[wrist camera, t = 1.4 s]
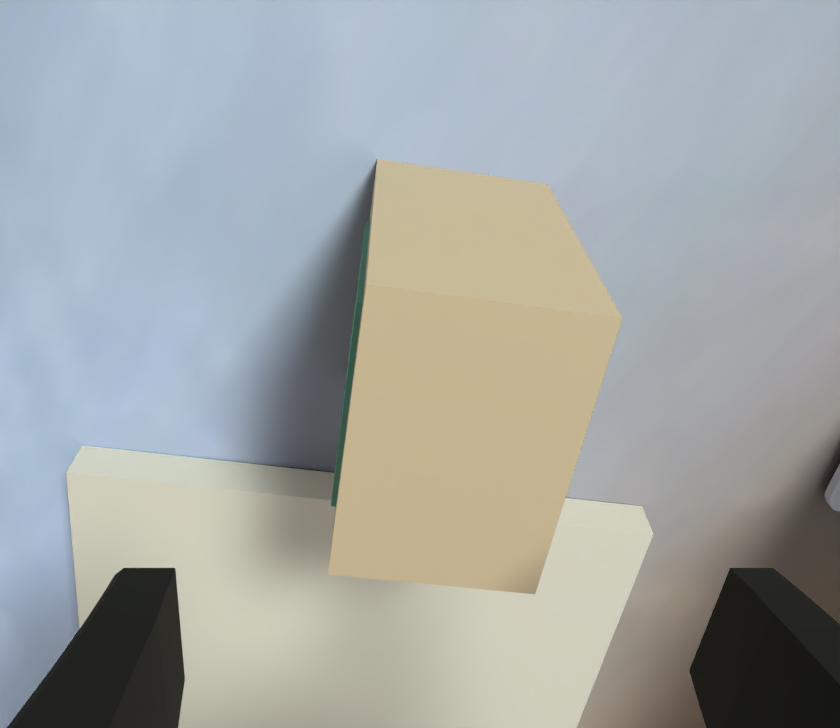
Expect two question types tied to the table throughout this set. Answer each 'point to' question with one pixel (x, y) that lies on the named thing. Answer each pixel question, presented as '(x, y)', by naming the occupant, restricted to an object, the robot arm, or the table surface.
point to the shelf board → (344, 603)
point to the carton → (465, 381)
